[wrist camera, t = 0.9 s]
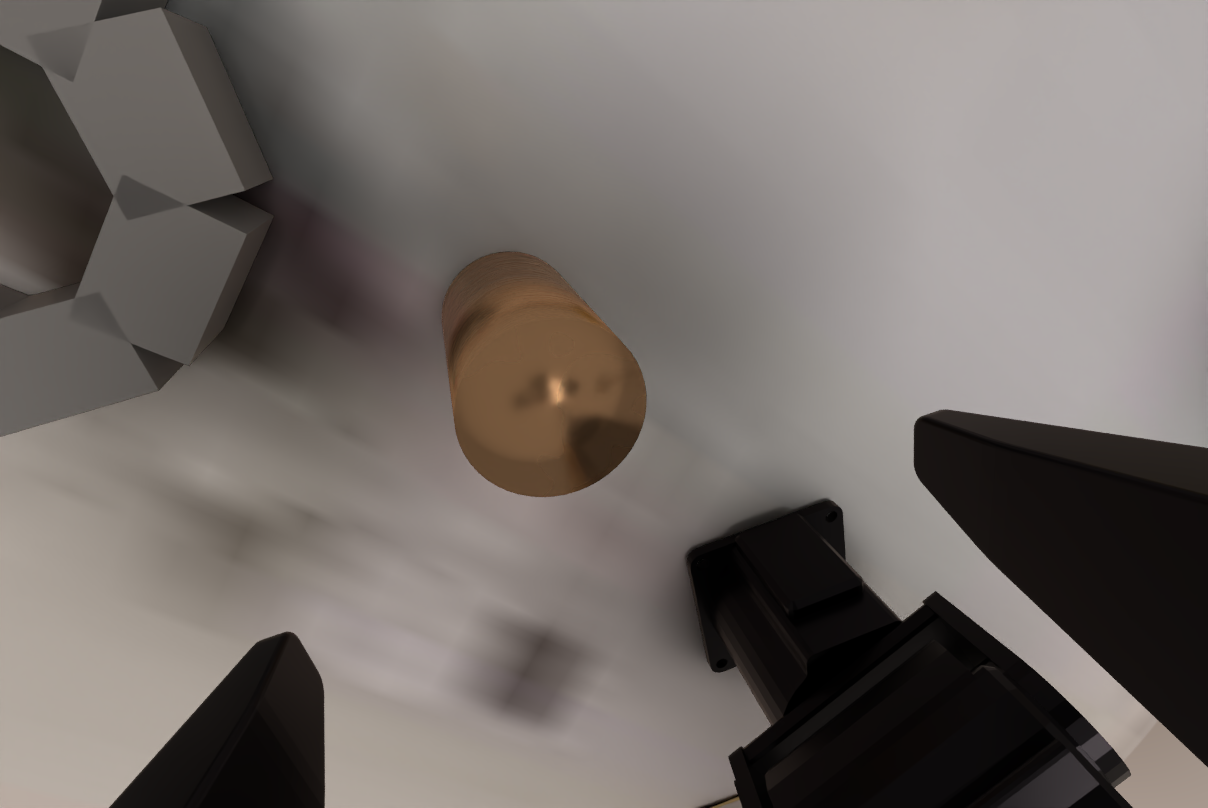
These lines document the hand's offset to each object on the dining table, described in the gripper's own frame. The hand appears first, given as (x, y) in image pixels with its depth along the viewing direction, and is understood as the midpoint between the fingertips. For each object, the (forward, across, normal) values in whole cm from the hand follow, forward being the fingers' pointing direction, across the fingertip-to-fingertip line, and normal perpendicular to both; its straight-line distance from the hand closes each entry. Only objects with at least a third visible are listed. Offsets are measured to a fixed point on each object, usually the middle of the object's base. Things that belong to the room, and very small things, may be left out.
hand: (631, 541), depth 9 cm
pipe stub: (+12, 0, 0) cm, 12 cm away
